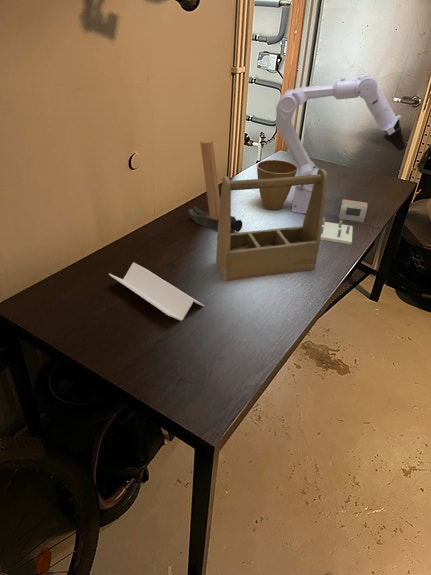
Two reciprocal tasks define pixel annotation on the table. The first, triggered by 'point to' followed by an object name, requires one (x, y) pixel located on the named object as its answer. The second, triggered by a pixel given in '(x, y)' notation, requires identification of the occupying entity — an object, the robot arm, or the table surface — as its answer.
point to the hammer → (211, 192)
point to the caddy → (270, 233)
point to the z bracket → (157, 291)
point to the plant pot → (270, 170)
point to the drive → (353, 210)
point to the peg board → (336, 232)
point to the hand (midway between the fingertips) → (401, 145)
